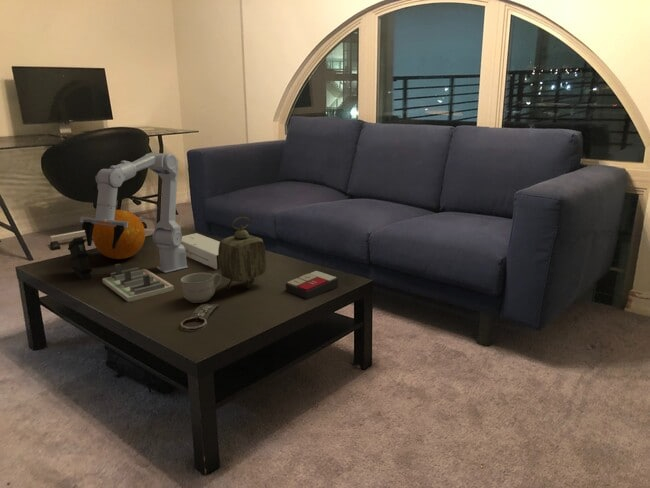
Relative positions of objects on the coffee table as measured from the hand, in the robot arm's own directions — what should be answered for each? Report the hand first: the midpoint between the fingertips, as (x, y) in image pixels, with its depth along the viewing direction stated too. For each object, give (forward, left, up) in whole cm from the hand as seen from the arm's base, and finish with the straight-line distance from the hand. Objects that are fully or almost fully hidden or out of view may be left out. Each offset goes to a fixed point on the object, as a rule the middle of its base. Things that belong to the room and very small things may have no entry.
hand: (101, 247), depth 178 cm
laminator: (-47, -17, -18) cm, 53 cm away
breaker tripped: (-11, +6, -16) cm, 20 cm away
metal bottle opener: (-15, +36, -18) cm, 43 cm away
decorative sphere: (-19, -39, -18) cm, 47 cm away
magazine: (0, -29, -18) cm, 34 cm away
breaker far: (-8, -12, -16) cm, 22 cm away
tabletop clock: (-39, +23, -18) cm, 49 cm away
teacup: (-23, +23, -18) cm, 37 cm away
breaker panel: (-11, -3, -17) cm, 21 cm away
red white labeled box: (-56, +40, -18) cm, 71 cm away
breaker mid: (-8, -3, -16) cm, 18 cm away
